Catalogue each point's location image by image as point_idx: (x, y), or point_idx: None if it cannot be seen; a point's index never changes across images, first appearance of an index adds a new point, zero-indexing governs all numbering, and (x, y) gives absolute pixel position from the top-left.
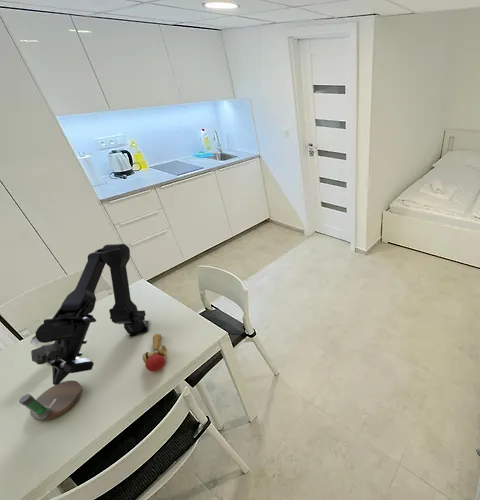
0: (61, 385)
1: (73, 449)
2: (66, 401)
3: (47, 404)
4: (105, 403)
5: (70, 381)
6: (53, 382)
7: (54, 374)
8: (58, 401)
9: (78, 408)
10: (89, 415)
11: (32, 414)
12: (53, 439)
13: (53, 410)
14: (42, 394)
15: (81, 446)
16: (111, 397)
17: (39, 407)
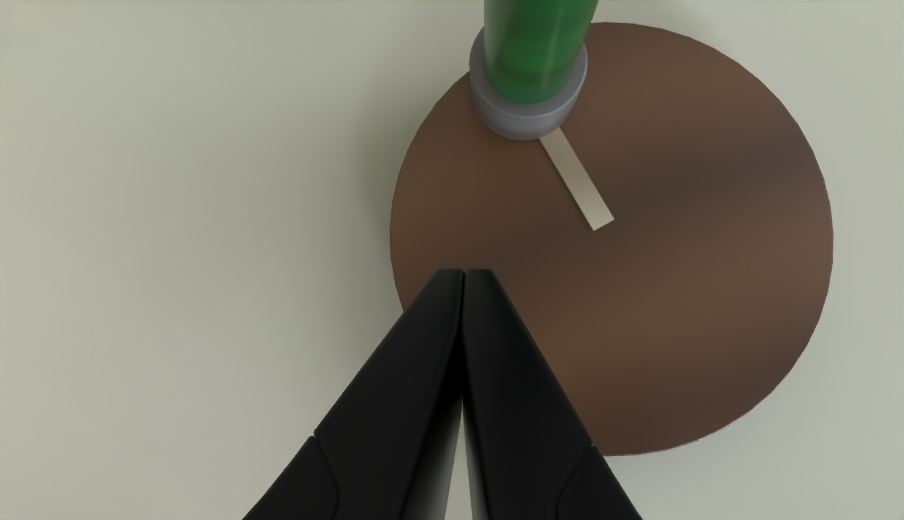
0: (737, 353)
1: (48, 51)
2: (457, 255)
3: (619, 157)
4: (161, 397)
5: (690, 427)
6: (476, 289)
7: (484, 442)
8: (544, 222)
9: (358, 270)
10: (193, 267)
11: (642, 37)
12: (281, 30)
13: (482, 144)
14: (816, 202)
15: (10, 88)
16: (162, 460)
17: (484, 26)
